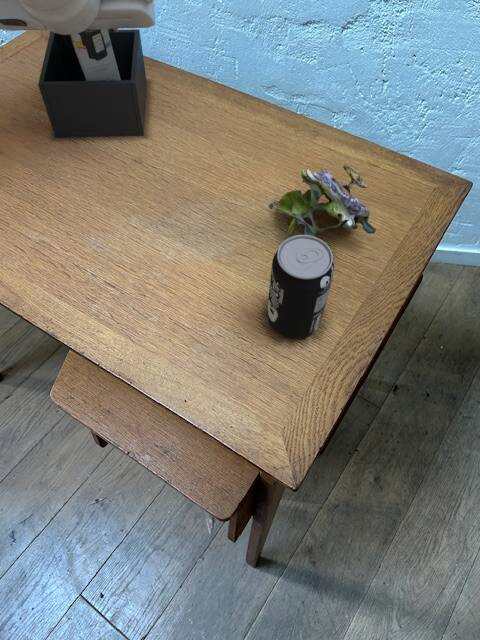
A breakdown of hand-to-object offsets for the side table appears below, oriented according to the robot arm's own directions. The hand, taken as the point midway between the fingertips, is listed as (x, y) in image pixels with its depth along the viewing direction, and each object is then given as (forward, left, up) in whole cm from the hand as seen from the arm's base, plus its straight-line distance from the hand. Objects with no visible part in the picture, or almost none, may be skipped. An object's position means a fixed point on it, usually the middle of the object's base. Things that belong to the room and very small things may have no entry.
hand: (86, 26), depth 77 cm
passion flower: (+31, -28, -13) cm, 43 cm away
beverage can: (+26, -42, -13) cm, 51 cm away
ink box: (0, 0, -7) cm, 7 cm away
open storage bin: (0, -1, -13) cm, 13 cm away
